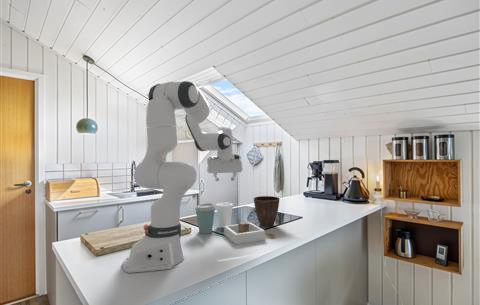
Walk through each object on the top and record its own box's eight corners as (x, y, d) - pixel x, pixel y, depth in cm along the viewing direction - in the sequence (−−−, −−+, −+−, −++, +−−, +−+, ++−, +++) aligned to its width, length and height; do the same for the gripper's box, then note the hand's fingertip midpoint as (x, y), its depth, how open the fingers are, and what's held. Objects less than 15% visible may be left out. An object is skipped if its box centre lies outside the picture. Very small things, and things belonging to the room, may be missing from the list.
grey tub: (235, 245, 117) (235, 234, 117) (224, 235, 131) (224, 226, 131) (264, 241, 123) (264, 230, 123) (250, 232, 137) (250, 222, 137)
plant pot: (266, 231, 138) (266, 201, 138) (248, 225, 150) (248, 198, 150) (285, 226, 148) (285, 198, 148) (266, 221, 159) (266, 195, 159)
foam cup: (233, 224, 151) (233, 202, 151) (231, 229, 141) (231, 206, 141) (217, 224, 152) (217, 202, 152) (214, 229, 142) (214, 205, 142)
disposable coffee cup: (203, 237, 128) (203, 207, 128) (191, 233, 136) (191, 204, 136) (219, 232, 136) (219, 204, 136) (206, 228, 143) (206, 201, 143)
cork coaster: (267, 240, 124) (267, 239, 124) (259, 235, 131) (259, 234, 131) (281, 238, 127) (281, 237, 127) (273, 233, 134) (273, 232, 134)
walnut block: (241, 238, 125) (241, 224, 125) (238, 236, 128) (238, 222, 128) (249, 237, 126) (249, 223, 126) (245, 235, 130) (245, 221, 130)
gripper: (209, 156, 138) (209, 182, 138) (243, 156, 147) (243, 180, 147) (205, 156, 144) (205, 181, 144) (238, 156, 152) (238, 179, 152)
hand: (225, 180), depth 145 cm, fingers open, 8 cm apart
